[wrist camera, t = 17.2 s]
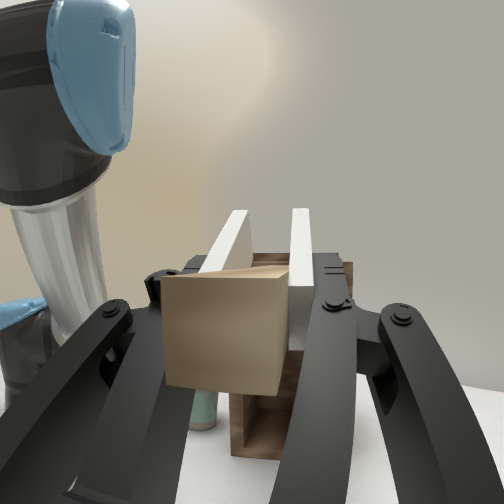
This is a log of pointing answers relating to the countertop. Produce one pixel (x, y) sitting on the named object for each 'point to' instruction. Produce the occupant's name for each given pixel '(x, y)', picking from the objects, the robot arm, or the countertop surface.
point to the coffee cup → (204, 410)
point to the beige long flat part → (226, 329)
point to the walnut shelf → (269, 407)
